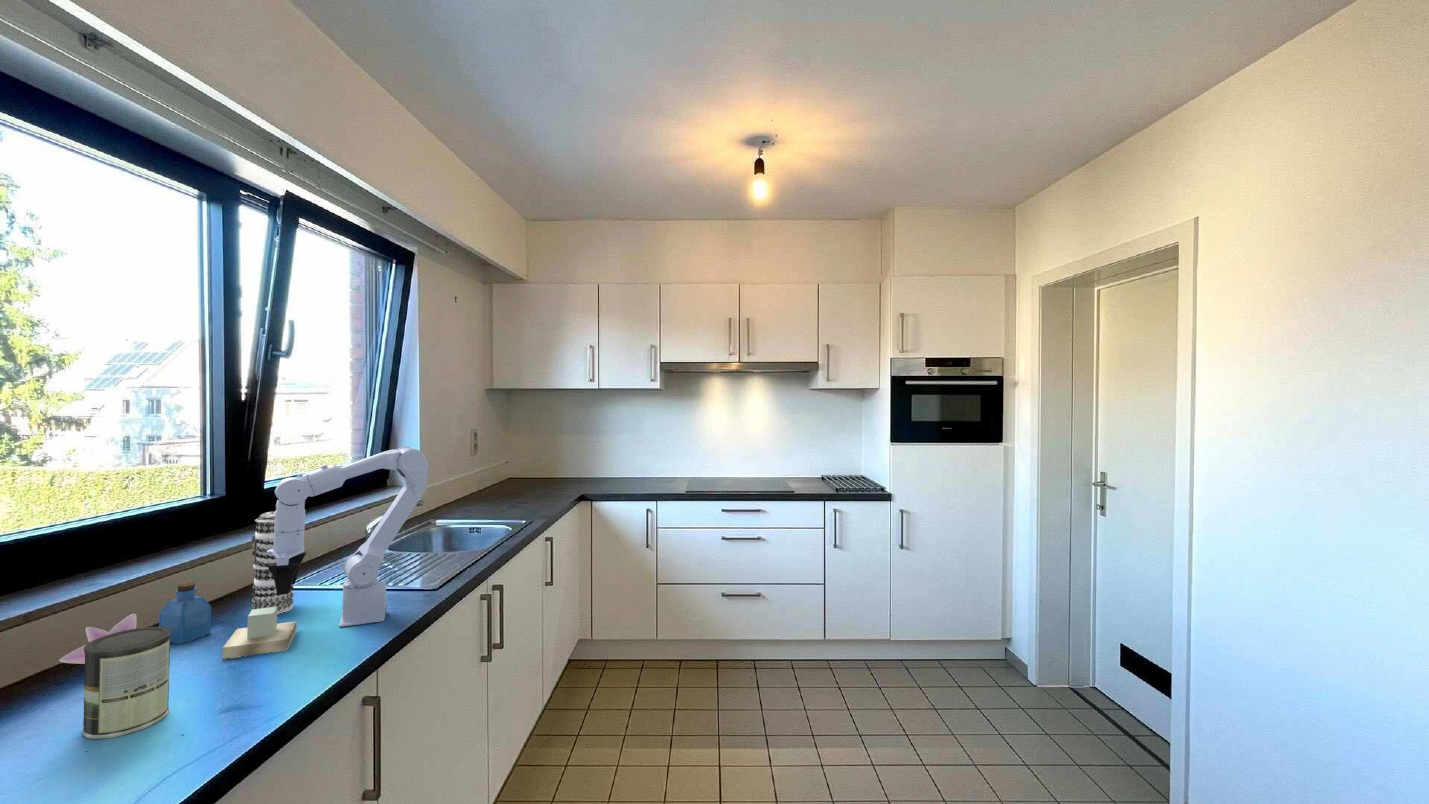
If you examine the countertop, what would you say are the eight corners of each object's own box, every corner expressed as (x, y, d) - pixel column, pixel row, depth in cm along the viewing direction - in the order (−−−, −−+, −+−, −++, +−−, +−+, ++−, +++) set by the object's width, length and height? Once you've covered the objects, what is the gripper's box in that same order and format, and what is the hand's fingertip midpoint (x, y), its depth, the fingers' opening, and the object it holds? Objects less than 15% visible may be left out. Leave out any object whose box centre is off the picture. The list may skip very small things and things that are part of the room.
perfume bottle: (180, 644, 127) (182, 589, 127) (158, 641, 129) (160, 587, 129) (210, 633, 133) (211, 581, 133) (189, 630, 135) (190, 579, 135)
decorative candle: (282, 616, 144) (284, 516, 144) (240, 617, 143) (243, 516, 143) (302, 603, 153) (304, 509, 153) (263, 604, 152) (266, 509, 152)
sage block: (276, 628, 131) (277, 606, 131) (273, 635, 127) (273, 613, 127) (251, 631, 129) (252, 609, 129) (247, 639, 125) (247, 616, 125)
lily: (45, 692, 108) (55, 653, 105) (85, 644, 118) (95, 608, 116) (128, 699, 113) (139, 662, 111) (159, 652, 123) (170, 618, 121)
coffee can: (61, 740, 91) (64, 651, 91) (122, 706, 102) (124, 626, 102) (132, 739, 92) (134, 651, 92) (185, 705, 103) (187, 626, 103)
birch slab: (296, 634, 135) (296, 621, 135) (287, 652, 126) (287, 639, 126) (236, 642, 130) (237, 628, 130) (222, 662, 120) (222, 647, 120)
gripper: (274, 525, 139) (271, 581, 138) (260, 538, 126) (257, 600, 126) (310, 523, 142) (307, 579, 142) (300, 535, 129) (297, 597, 129)
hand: (286, 589), depth 134 cm, fingers open, 7 cm apart
